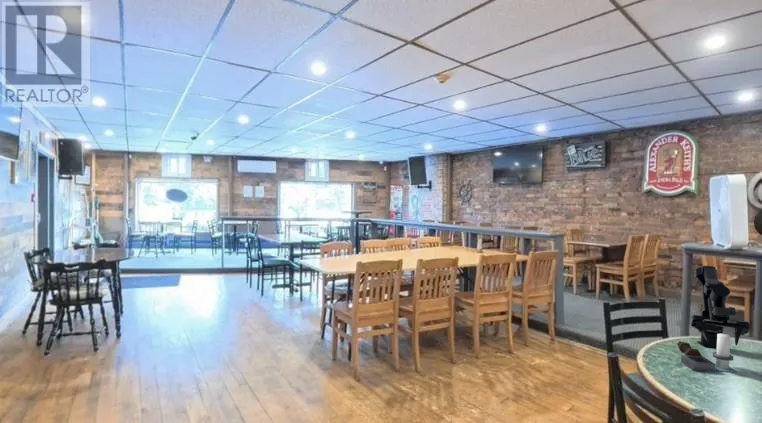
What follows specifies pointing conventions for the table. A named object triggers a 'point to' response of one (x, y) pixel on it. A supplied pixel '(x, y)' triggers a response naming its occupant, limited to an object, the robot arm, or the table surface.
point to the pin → (723, 351)
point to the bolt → (688, 349)
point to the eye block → (698, 363)
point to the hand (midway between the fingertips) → (721, 342)
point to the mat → (725, 369)
